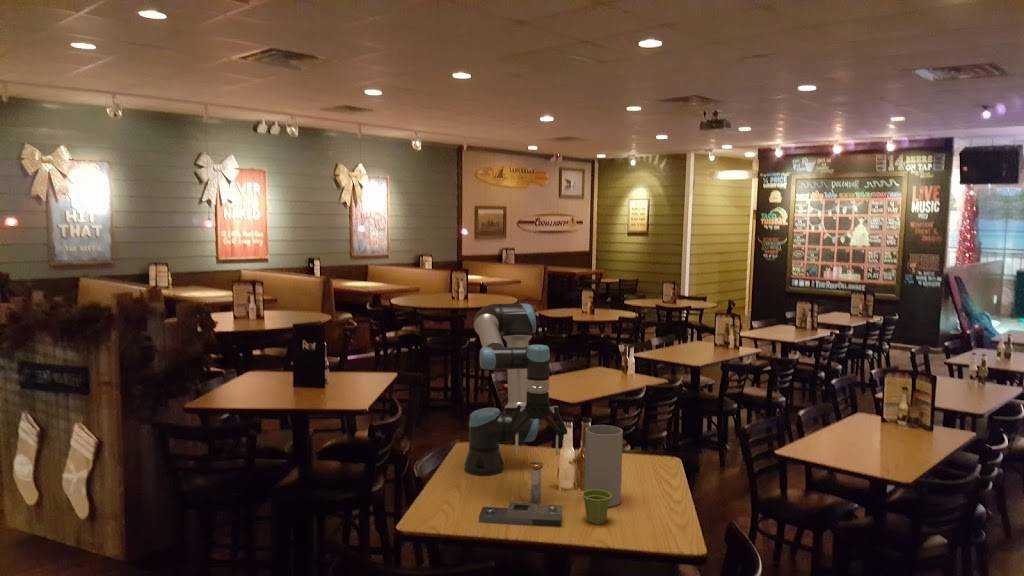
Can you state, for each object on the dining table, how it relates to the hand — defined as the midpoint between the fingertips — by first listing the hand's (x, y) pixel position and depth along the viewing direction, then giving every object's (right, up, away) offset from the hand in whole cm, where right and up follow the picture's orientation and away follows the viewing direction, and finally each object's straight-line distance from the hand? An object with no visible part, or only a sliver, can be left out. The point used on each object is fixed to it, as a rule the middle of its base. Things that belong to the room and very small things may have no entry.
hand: (536, 453), depth 249 cm
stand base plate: (-6, -18, -12) cm, 23 cm away
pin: (0, -17, +2) cm, 18 cm away
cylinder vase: (+23, -18, +5) cm, 29 cm away
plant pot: (+19, -19, -12) cm, 29 cm away
